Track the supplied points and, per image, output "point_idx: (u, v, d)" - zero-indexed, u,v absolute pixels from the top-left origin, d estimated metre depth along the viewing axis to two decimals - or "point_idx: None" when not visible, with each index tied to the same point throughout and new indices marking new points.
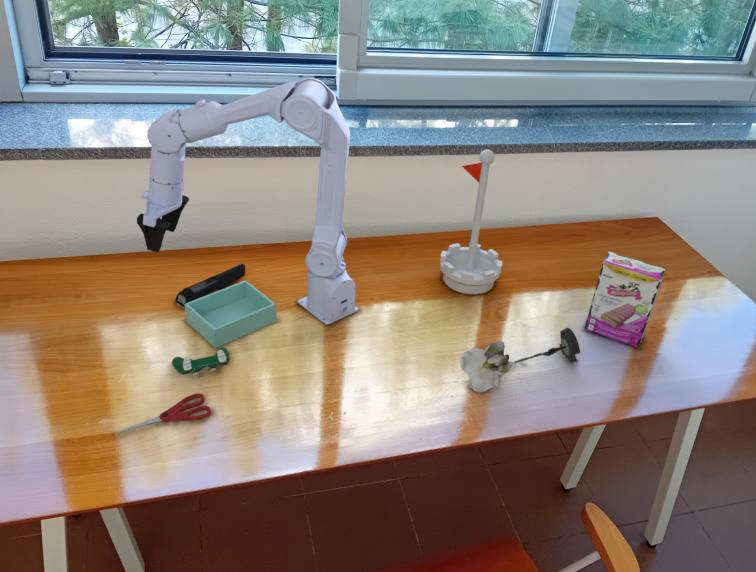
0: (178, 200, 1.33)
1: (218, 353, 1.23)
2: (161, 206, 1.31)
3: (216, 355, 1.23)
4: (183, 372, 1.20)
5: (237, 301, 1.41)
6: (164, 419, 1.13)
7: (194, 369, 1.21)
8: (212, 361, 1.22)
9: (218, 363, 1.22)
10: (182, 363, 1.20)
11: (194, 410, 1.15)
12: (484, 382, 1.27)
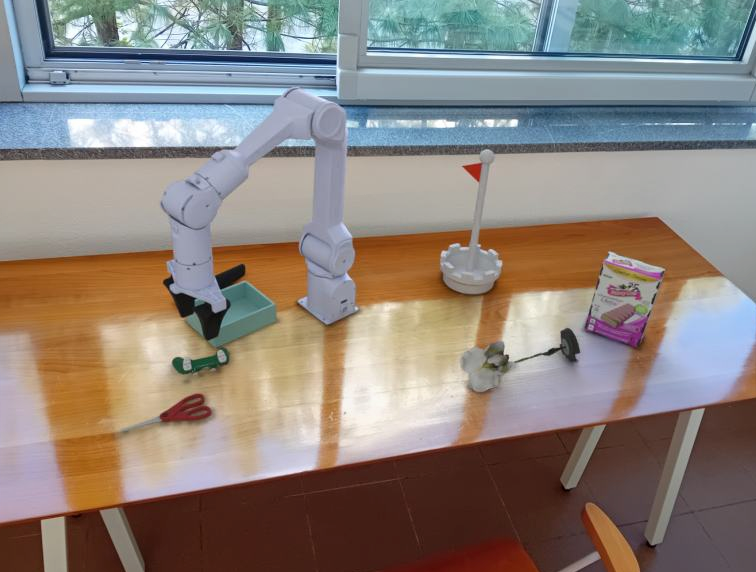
0: None
1: (218, 353, 1.23)
2: (208, 286, 1.14)
3: (216, 355, 1.23)
4: (183, 372, 1.20)
5: (237, 301, 1.41)
6: (164, 419, 1.13)
7: (194, 369, 1.21)
8: (212, 361, 1.22)
9: (218, 363, 1.22)
10: (182, 363, 1.20)
11: (194, 410, 1.15)
12: (484, 382, 1.28)
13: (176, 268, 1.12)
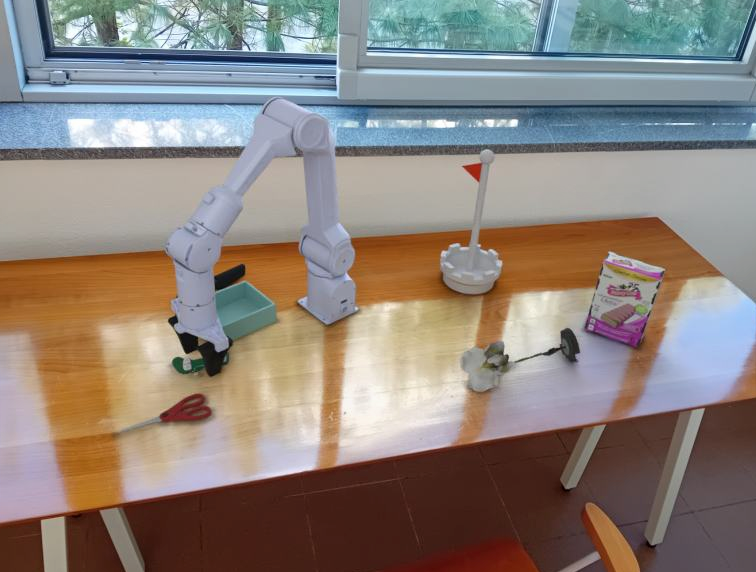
0: None
1: None
2: (211, 326, 1.18)
3: None
4: (183, 372, 1.20)
5: (237, 301, 1.41)
6: (164, 419, 1.13)
7: (194, 369, 1.21)
8: None
9: None
10: (182, 363, 1.20)
11: (194, 410, 1.15)
12: (484, 382, 1.28)
13: (180, 309, 1.16)
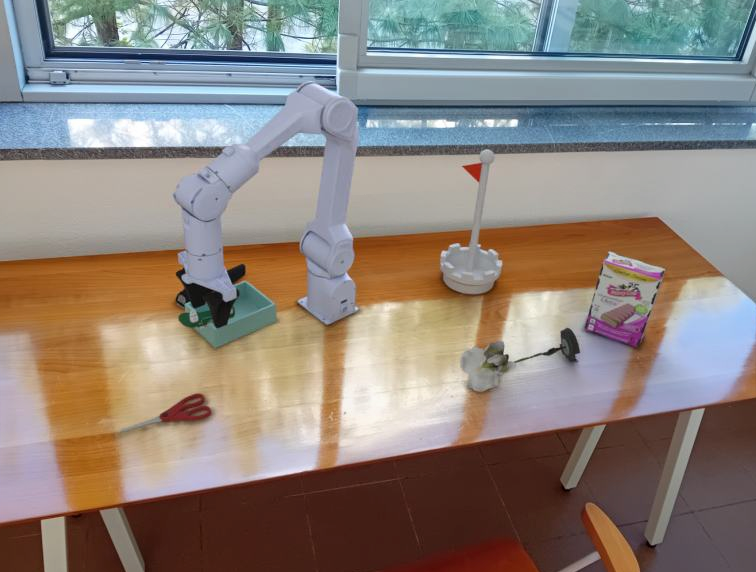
0: None
1: None
2: (218, 276, 1.18)
3: None
4: (190, 325, 1.20)
5: (237, 301, 1.41)
6: (164, 419, 1.13)
7: (201, 321, 1.21)
8: None
9: None
10: (189, 315, 1.20)
11: (194, 410, 1.15)
12: (484, 382, 1.28)
13: (188, 259, 1.16)
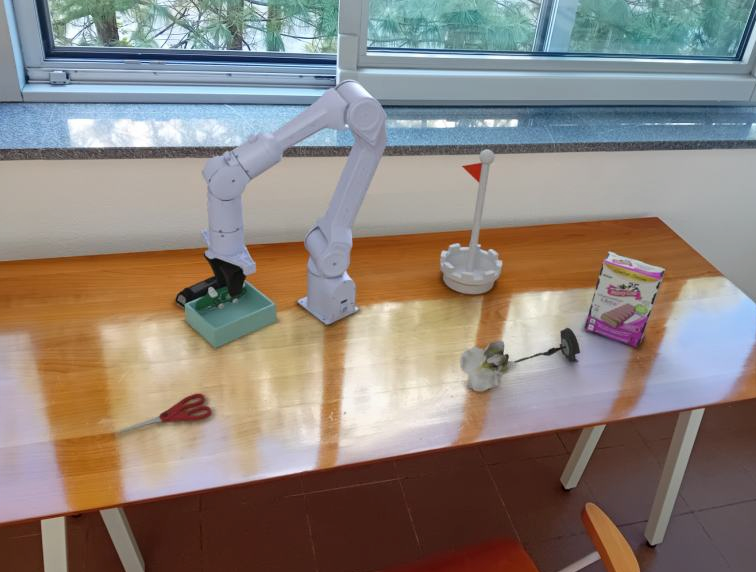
0: None
1: None
2: (239, 252, 1.27)
3: None
4: (211, 300, 1.30)
5: None
6: (164, 419, 1.13)
7: (220, 295, 1.30)
8: None
9: None
10: (208, 293, 1.30)
11: (194, 410, 1.15)
12: (484, 382, 1.28)
13: (211, 235, 1.25)
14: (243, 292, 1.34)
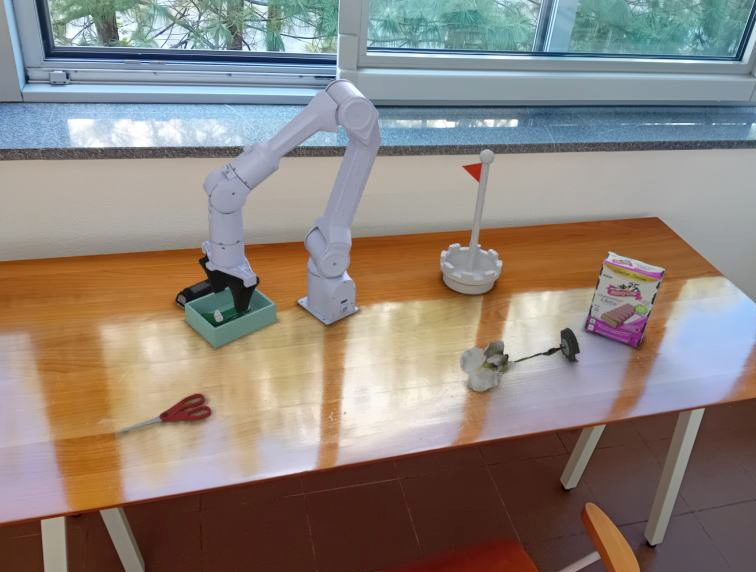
0: None
1: None
2: (239, 264, 1.28)
3: None
4: (216, 324, 1.31)
5: None
6: (164, 419, 1.13)
7: (225, 320, 1.32)
8: None
9: (244, 311, 1.34)
10: (213, 316, 1.31)
11: (194, 410, 1.15)
12: (483, 382, 1.28)
13: (212, 247, 1.26)
14: None
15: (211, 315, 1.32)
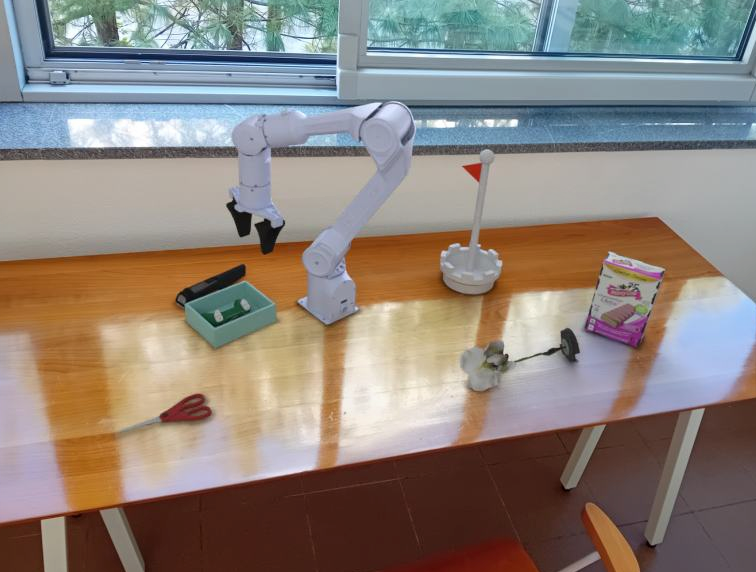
0: None
1: (242, 302, 1.34)
2: (266, 207, 1.35)
3: (240, 305, 1.34)
4: (216, 324, 1.31)
5: None
6: (164, 419, 1.13)
7: (225, 320, 1.32)
8: (239, 310, 1.34)
9: (244, 311, 1.34)
10: (213, 316, 1.31)
11: (194, 410, 1.15)
12: (483, 381, 1.28)
13: (241, 190, 1.33)
14: None
15: (211, 315, 1.32)
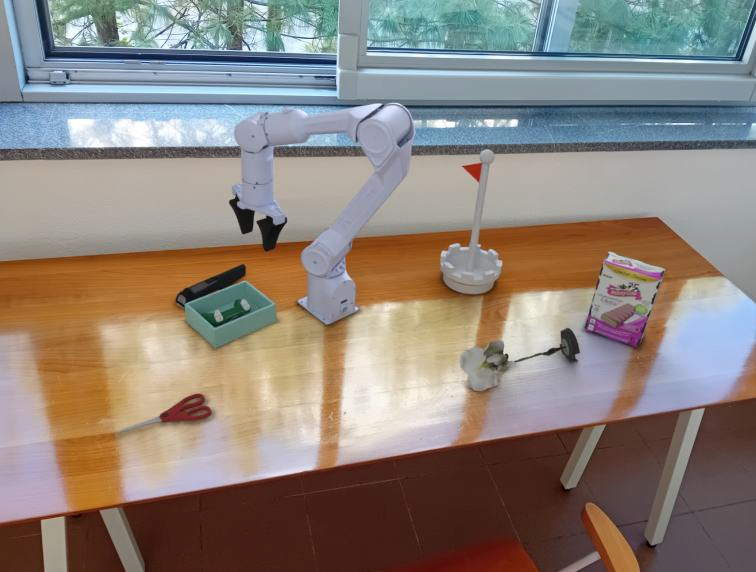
0: None
1: (242, 302, 1.34)
2: (269, 204, 1.36)
3: (240, 305, 1.34)
4: (216, 324, 1.31)
5: None
6: (164, 419, 1.13)
7: (225, 320, 1.32)
8: (239, 310, 1.34)
9: (244, 311, 1.34)
10: (213, 316, 1.31)
11: (194, 410, 1.15)
12: (483, 381, 1.28)
13: (243, 187, 1.34)
14: None
15: (211, 315, 1.32)
